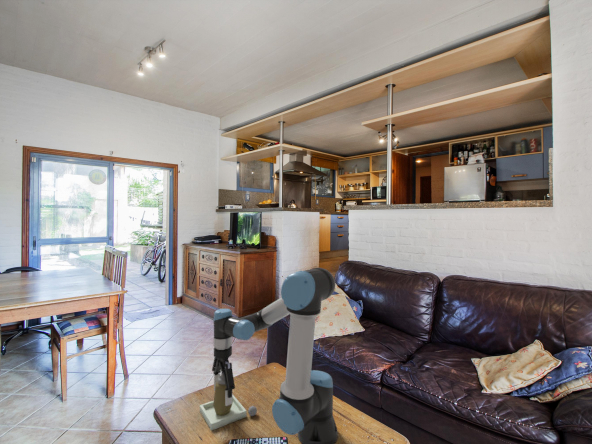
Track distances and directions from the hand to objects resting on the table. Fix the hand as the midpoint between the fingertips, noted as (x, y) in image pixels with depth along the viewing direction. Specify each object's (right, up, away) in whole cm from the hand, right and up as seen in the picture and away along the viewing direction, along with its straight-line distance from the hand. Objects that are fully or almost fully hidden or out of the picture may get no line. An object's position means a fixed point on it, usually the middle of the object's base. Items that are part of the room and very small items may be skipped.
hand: (222, 396), depth 127 cm
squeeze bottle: (0, -7, 0) cm, 7 cm away
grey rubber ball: (+13, -7, -1) cm, 15 cm away
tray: (0, -7, 0) cm, 7 cm away
